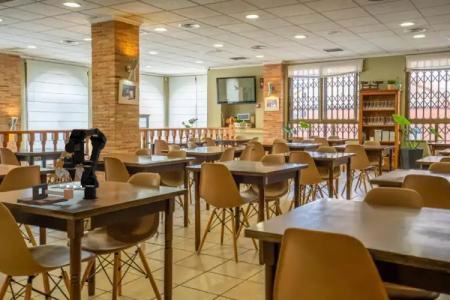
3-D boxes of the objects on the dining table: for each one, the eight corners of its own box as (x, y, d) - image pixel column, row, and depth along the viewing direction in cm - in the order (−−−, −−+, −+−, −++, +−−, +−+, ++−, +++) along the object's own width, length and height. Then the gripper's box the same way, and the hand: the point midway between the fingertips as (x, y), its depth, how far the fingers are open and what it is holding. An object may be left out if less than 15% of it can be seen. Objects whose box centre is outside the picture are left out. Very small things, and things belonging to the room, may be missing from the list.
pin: (43, 196, 263) (43, 187, 263) (49, 195, 267) (49, 186, 266) (67, 199, 254) (67, 190, 254) (73, 198, 258) (73, 189, 257)
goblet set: (93, 187, 322) (93, 167, 321) (87, 188, 316) (87, 168, 315) (59, 185, 332) (59, 165, 331) (53, 186, 326) (53, 166, 326)
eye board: (16, 201, 263) (16, 185, 263) (43, 197, 279) (43, 181, 278) (42, 205, 254) (41, 188, 253) (68, 200, 269) (68, 184, 269)
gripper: (81, 150, 274) (81, 177, 275) (55, 152, 258) (55, 181, 259) (95, 151, 269) (96, 178, 270) (70, 153, 252) (70, 182, 253)
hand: (79, 180), depth 263 cm, fingers open, 9 cm apart
